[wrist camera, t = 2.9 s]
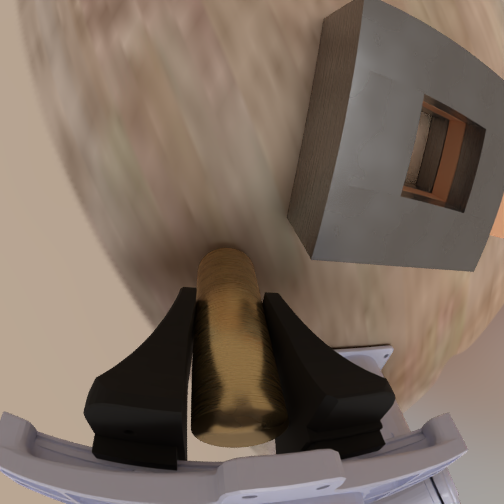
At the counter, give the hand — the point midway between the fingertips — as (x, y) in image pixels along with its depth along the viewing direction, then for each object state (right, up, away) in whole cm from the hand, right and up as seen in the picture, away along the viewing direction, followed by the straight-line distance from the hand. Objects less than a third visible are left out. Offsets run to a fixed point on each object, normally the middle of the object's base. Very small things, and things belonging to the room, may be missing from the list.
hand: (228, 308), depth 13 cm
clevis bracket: (+9, +9, +1) cm, 13 cm away
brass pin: (0, +1, +3) cm, 3 cm away
